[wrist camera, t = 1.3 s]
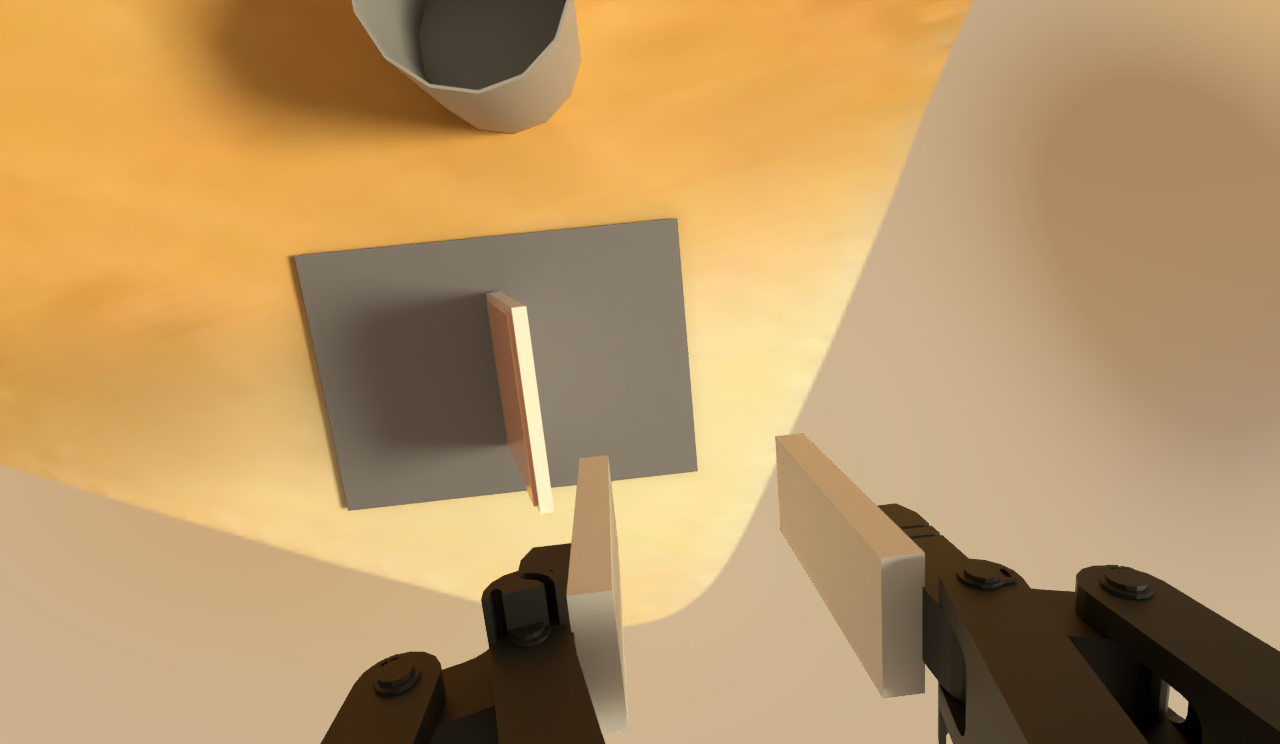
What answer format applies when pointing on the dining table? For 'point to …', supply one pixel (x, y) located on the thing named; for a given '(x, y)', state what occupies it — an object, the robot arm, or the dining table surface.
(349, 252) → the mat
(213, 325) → the dining table surface
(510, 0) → the cup
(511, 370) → the tile
